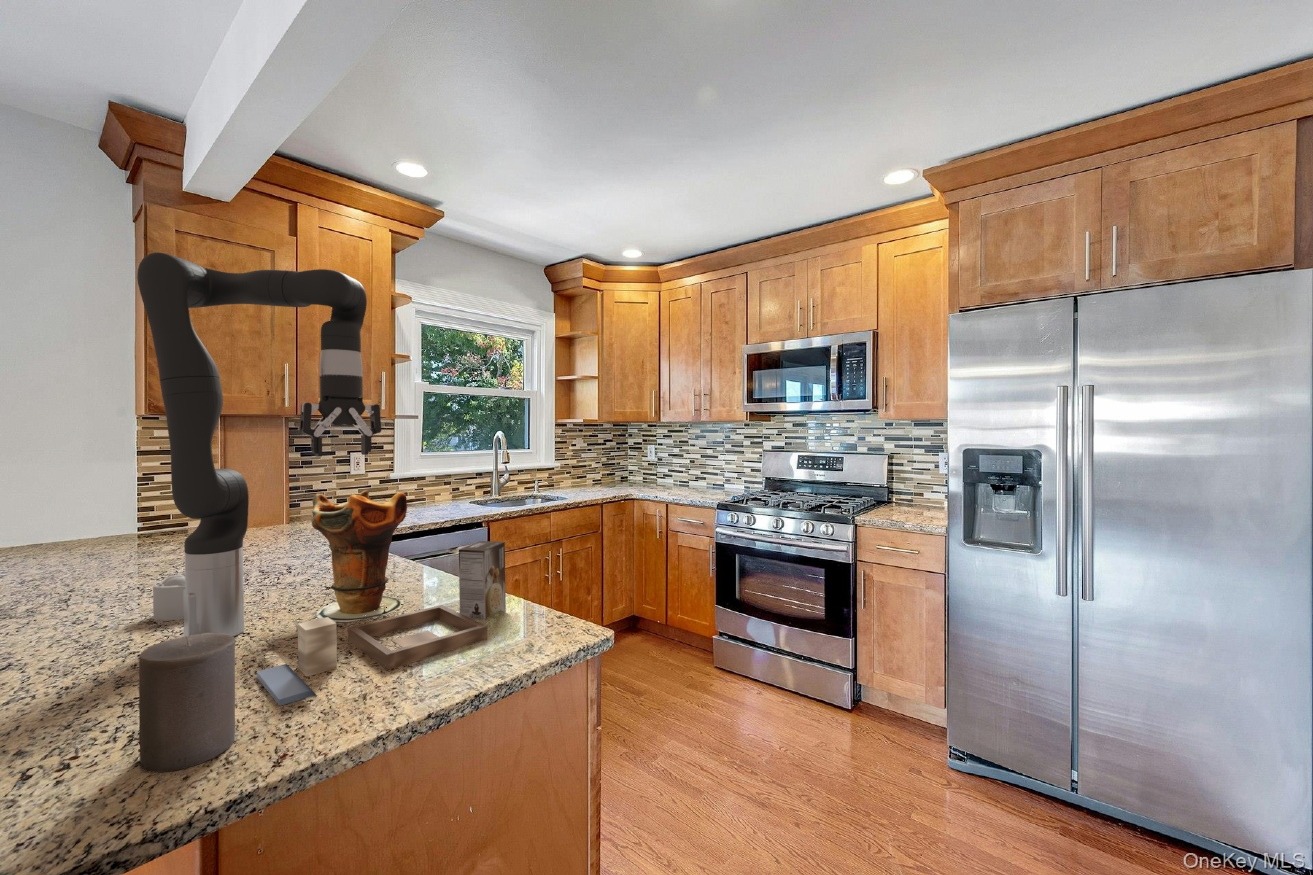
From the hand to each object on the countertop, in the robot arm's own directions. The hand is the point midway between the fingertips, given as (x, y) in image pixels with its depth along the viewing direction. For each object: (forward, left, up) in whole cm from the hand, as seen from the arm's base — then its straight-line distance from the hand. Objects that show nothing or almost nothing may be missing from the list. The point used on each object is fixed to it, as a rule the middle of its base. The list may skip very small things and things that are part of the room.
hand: (342, 455), depth 114 cm
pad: (-10, -18, -36) cm, 41 cm away
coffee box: (+24, -12, -36) cm, 45 cm away
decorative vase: (+8, +14, -36) cm, 40 cm away
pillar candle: (-28, -30, -36) cm, 55 cm away
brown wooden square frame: (+7, -18, -36) cm, 41 cm away
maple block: (-10, -18, -35) cm, 41 cm away
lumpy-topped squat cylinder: (-19, +40, -36) cm, 57 cm away
